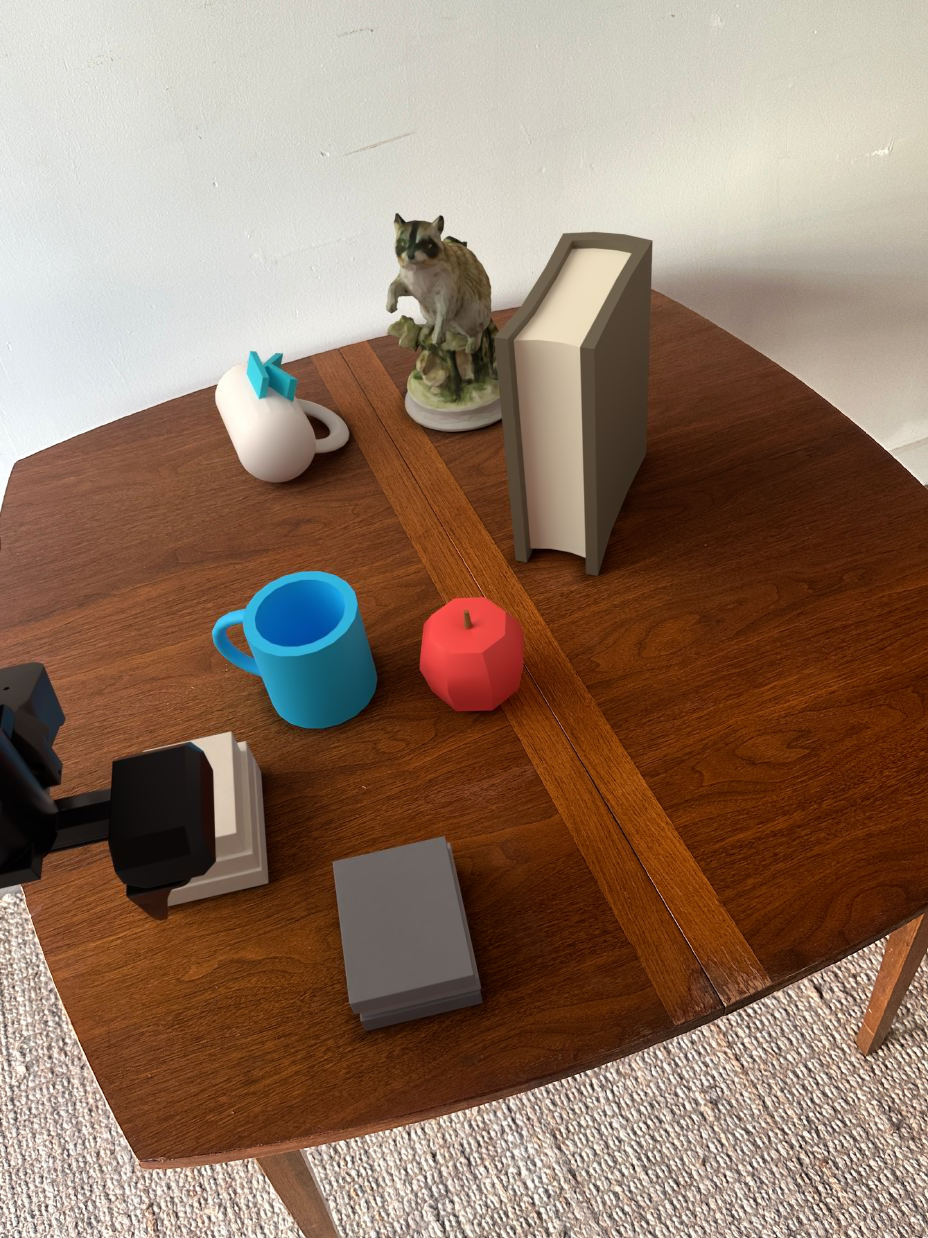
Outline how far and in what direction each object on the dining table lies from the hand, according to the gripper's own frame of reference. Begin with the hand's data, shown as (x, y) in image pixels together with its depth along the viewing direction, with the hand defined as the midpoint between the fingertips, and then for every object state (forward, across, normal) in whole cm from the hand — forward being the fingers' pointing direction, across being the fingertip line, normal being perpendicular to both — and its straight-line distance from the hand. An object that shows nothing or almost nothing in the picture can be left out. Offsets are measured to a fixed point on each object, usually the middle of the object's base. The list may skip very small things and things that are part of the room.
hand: (75, 932), depth 52 cm
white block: (+8, -4, -12) cm, 15 cm away
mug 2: (+12, -11, -24) cm, 29 cm away
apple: (+12, -24, -20) cm, 33 cm away
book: (+12, -37, -37) cm, 54 cm away
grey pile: (+12, -16, -1) cm, 20 cm away
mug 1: (+12, -13, -53) cm, 56 cm away
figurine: (+12, -30, -56) cm, 65 cm away
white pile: (+12, -4, -12) cm, 17 cm away
